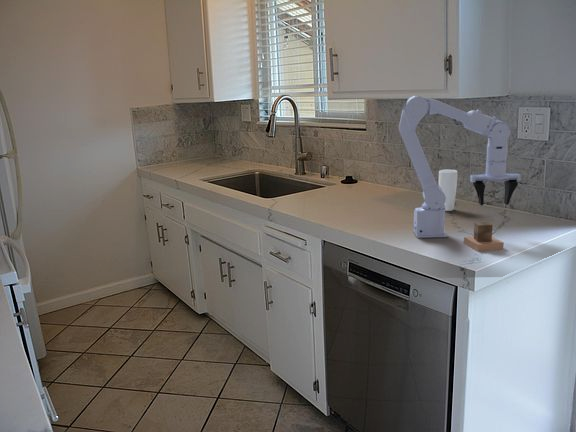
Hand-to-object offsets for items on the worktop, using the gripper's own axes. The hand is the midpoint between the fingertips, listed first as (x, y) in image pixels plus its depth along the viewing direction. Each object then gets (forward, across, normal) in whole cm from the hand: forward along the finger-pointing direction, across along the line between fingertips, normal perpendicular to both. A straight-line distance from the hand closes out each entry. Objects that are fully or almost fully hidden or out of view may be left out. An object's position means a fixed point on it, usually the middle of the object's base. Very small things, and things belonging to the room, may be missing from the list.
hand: (493, 204), depth 160 cm
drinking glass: (+10, -6, +34) cm, 36 cm away
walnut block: (+8, -6, -11) cm, 15 cm away
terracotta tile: (+10, -6, -11) cm, 16 cm away
